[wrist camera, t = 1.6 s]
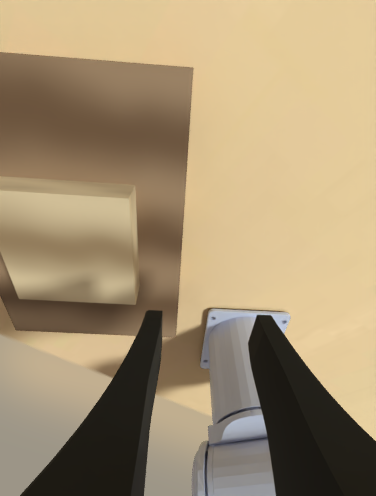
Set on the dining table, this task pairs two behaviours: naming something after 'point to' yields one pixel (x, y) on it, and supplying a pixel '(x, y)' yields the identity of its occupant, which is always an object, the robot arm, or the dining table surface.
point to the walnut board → (102, 169)
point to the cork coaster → (70, 240)
